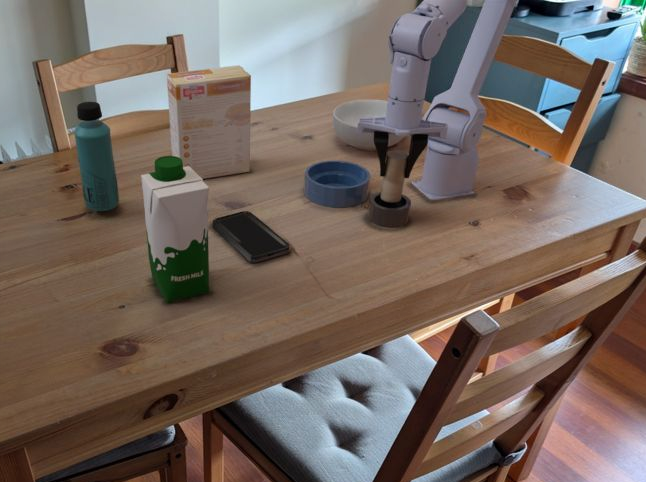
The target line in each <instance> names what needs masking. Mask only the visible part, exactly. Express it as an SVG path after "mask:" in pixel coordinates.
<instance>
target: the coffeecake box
mask: <svg viewBox="0 0 646 482" xmlns="http://www.w3.org/2000/svg"><path fill="white" fill-rule="evenodd" d="M166 81H167V82H166V86H167V101H168V118H169V119H168V120H169V133H170V148H171V156H175V157H179V158H181V159H182V161H183V167H187V166H190V167H191V168H192V169H193V170H194V171H195V172H196V173H197V174H198V175H199V176H200V177H201V178H202V179H203V180H204V179H210V178H218V177H223V176H230V175H236V174H243V173H250V171H251V103H252V101H251V100H252V99H251V98H252V74H250V73H249V72H248V71H246V70H245V68H244V67H243V66H241V65H240V64H238V65H237V64H236V65H230V66H222V67H212V68H204V69H197V70H196V69H195V70H188V71H179V72H170V73H167V74H166Z"/></svg>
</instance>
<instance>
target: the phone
mask: <svg viewBox="0 0 646 482" xmlns="http://www.w3.org/2000/svg"><path fill="white" fill-rule="evenodd" d="M212 228H213V229H214V230H215V231H216V232H217V233H218V234H219V235H220V236H221V237H222V238H223V239H224V240H225V241H227V242H228V243H229V244H230V246H231V247H234V249H235V250H236V251H237V252H238V253H240V254H241V255H242V256H243V257H244V259H246V260H247V261H248V262H250V263H253V264H254V263H255V264H256V263H260V262H263V261H266V260H270V259H274V258H278V257H281V256H285V255H288V254H289V253H290V244H289V243H288V242H287V241H286V240H285V239H284V238H282V236H280V235H279V234H278V233H277V232H275V231H274V230H273V229H271V228H270V227H269V225H267V224H266V223H264V222H263V221H262V220H261V219H259V218H258V217H257V216H256V215H255V214H254V213H253V212H251V211H248V210H242V211H238V212H234V213H231V214H227V215H223V216H220V217H216V218H213V219H212Z"/></svg>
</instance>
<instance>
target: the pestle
mask: <svg viewBox="0 0 646 482" xmlns="http://www.w3.org/2000/svg"><path fill="white" fill-rule="evenodd" d="M408 155H409V153H406V152H405V151H401V150H390V151H387V155H386V162H385V175H384V177H382V184H381V190H380V192H381V199H382V200H384V201H386V202H398V201H400V200H401V197H402V194H403V190H404V183H405V179H406V178H405V172H406V167H407V161H408Z"/></svg>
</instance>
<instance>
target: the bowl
mask: <svg viewBox="0 0 646 482" xmlns="http://www.w3.org/2000/svg"><path fill="white" fill-rule="evenodd" d="M371 177H372V176H371V173H370V171H369V170H368V169H367V168H366V167H364V166H362V165H360V164H358V163H355V162H351V161H344V160H322V161H318V162H315V163H312V164H311V165H309V166H308V167H307V168H306V170H305V171H304V179H303V180H304V181H303V183H304V184H303V195H304V197H305V198H306V199H307V200H308V201H310V202H312V203H314V204H316V205H319V206H323V207H327V208H350V207H355V206H358V205H360V204H363V203H365V201H367V199H368V196H369V192H370V184H371V179H372V178H371Z"/></svg>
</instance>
